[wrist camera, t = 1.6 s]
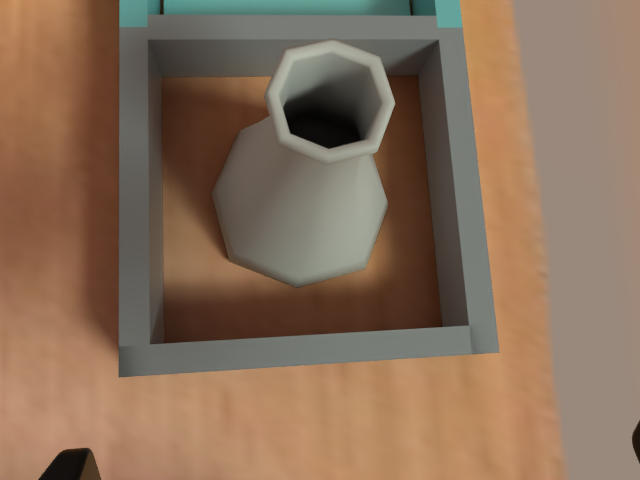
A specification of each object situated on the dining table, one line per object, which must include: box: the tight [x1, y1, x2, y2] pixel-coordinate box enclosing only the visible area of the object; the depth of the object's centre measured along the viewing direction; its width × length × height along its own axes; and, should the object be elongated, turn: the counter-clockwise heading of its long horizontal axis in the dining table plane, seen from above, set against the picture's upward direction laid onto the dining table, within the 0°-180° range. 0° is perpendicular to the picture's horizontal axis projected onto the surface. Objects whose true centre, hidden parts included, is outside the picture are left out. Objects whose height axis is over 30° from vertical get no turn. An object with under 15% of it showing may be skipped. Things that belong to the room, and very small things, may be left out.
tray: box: [119, 0, 499, 377], centre depth 23 cm, size 25×13×3 cm, turn 3°
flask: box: [211, 38, 395, 288], centre depth 19 cm, size 7×7×10 cm
